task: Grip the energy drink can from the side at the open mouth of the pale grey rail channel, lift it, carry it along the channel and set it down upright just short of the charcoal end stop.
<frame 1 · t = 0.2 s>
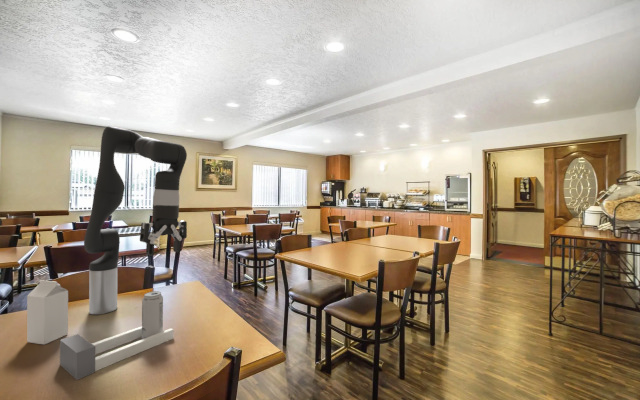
hand: (163, 253, 94), 29 cm above the table, tool pointing down, fingers open, 8 cm apart
stop channel: (122, 350, 88), on the table
milk carton: (48, 339, 95), on the table
energy drink can: (152, 339, 96), on the table
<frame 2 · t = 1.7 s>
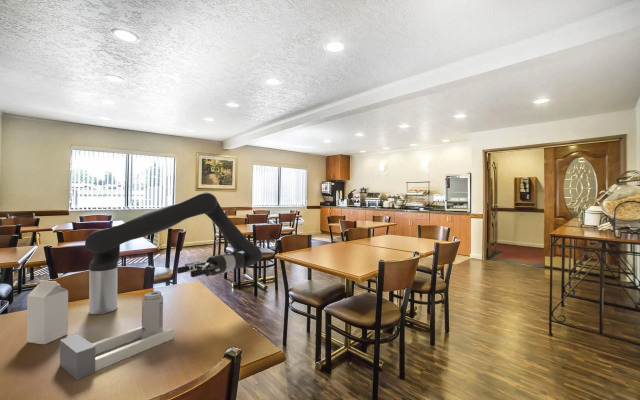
hand: (184, 272, 105), 20 cm above the table, tool horizontal, fingers open, 8 cm apart
nothing on the table moved.
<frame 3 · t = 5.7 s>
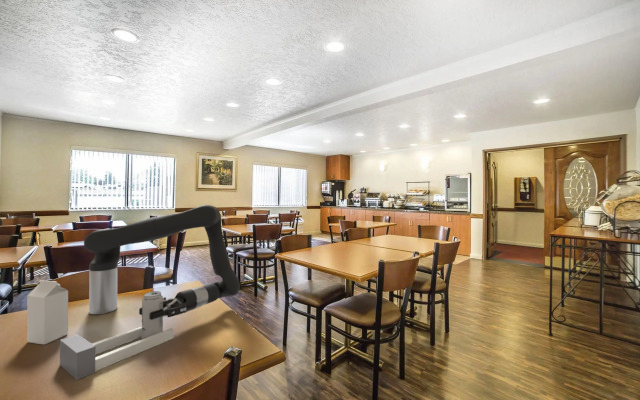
hand: (145, 314, 94), 9 cm above the table, tool horizontal, fingers closed on energy drink can, 6 cm apart
energy drink can: (152, 339, 96), on the table, touching gripper
everything else where it was.
when the fingers open (10 cm above the table, at t = 10.2 s): energy drink can drops 1 cm, on the table.
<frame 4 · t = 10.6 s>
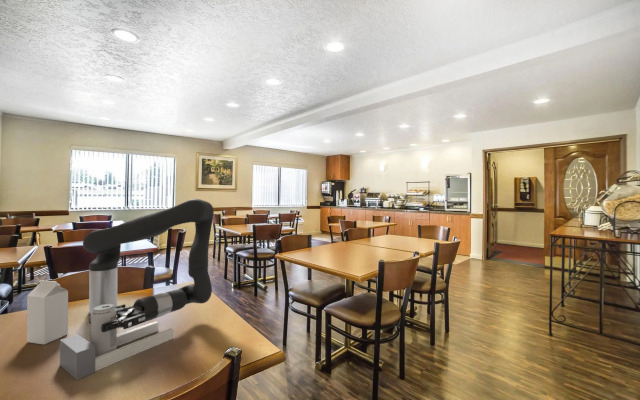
hand: (95, 324, 82), 11 cm above the table, tool horizontal, fingers open, 8 cm apart
energy drink can: (103, 358, 84), on the table
everything else where it was.
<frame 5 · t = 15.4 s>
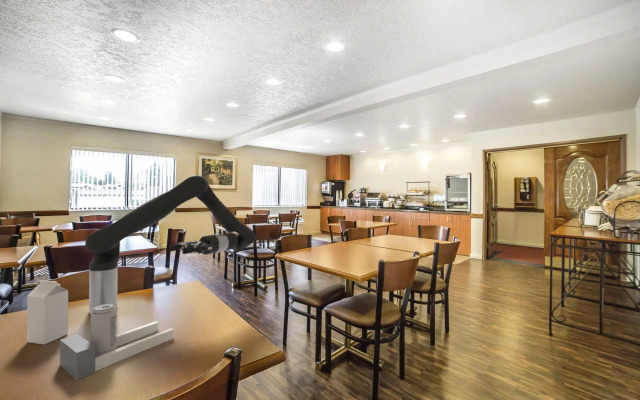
hand: (176, 249, 104), 28 cm above the table, tool horizontal, fingers open, 8 cm apart
nothing on the table moved.
at the end: energy drink can 0.2 cm from the target spot on the stop channel, point 0.0 cm above the stop channel's base; energy drink can tilted 0°; the gripper is holding nothing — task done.
